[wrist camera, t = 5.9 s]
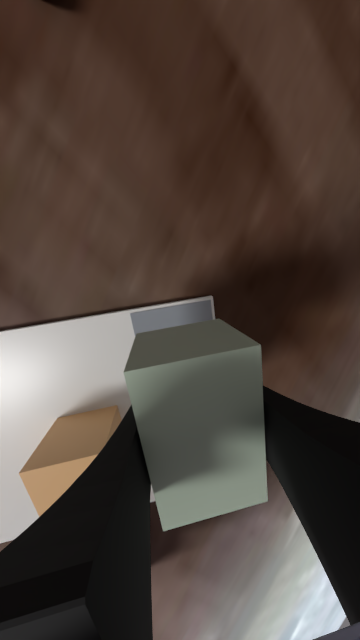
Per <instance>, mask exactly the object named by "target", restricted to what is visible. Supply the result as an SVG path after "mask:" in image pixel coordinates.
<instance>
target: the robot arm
mask: <svg viewBox="0 0 360 640" xmlns="http://www.w3.org/2000/svg"><path fill="white" fill-rule="evenodd" d="M263 404H264V428H265V451H266V459H267V461H268V462H269V464H270V466H271V467H272V469H273V471H274V472H275V474H276V476H277V478H278V480H279V482H280V483H281V485H282V487H283V489H284V491H285V493H286V495H287V496H288V498H289V500H290V502H291V504H292V506H293V508H294V510H295V512H296V514H297V516H298V518H299V520H300V521H301V523H302V525H303V527H304V529H305V531H306V533H307V535H308V537H309V539H310V541H311V543H312V545H313V547H314V549H315V551H316V553H317V555H318V557H319V560H320V562H321V564H322V566H323V568H324V570H325V572H326V574H327V576H328V578H329V580H330V582H331V584H332V587H333V589H334V591H335V593H336V595H337V597H338V599H339V601H340V603H341V605H342V607H343V610H344V612H345V614H346V616H347V618H348V620H349V622H350V625H351V626H348V627H345V628H343V629H340V630H337V631H335V632H332V633H329V634H327V635H324V636H321V637H319V638H316V639H313V640H360V423H359V422H355V421H351V420H348V419H345V418H341V417H338V416H335V415H332V414H328V413H326V412H323V411H320V410H317V409H314V408H312V407H309V406H306V405H304V404H301V403H299V402H296V401H294V400H292V399H290V398H287V397H285V396H283V395H281V394H279V393H277V392H275V391H273V390H271V389H269V388H267V387H265V386H263ZM150 493H151V481H150V477H149V473H148V469H147V465H146V461H145V457H144V453H143V449H142V445H141V441H140V437H139V433H138V429H137V425H136V420H135V416H134V412H133V408H132V404H131V406H130V407H129V409H128V411H127V413H126V414H125V416H124V418H123V419H122V421H121V422H120V424H119V426H118V427H117V429H116V430H115V432H114V433H113V435H112V436H111V437H110V439H109V440H108V442H107V443H106V445H105V446H104V447H103V449H102V450H101V451H100V453H99V454H98V455H97V456H96V458H95V459H94V460H93V461H92V463H91V464H90V465H89V466H88V467H87V468H86V470H85V471H84V472H83V473H82V474H81V475H80V476H79V477H78V478H77V479H76V480H75V482H74V483H73V484H72V485H71V486H70V487H69V488H68V489H67V490H66V491H65V492H64V493H63V494H62V495H61V496H60V497H59V498H58V499H57V500H56V501H55V502H54V503H53V504H52V505H51V506H50V507H49V508H48V509H47V510H46V511H45V512H44V513H43V514H42V515H41V516H40V517H39V518H38V519H37V520H36V521H35V522H33V523H32V524H31V525H30V526H29V527H28V528H27V529H26V530H25V531H24V532H22V533H21V534H20V535H19V536H18V537H17V538H16V539H14V540H13V541H12V542H11V543H10V544H9V545H8V546H7V547H5V548H4V549H3V550H2V551H1V552H0V640H153V634H152V600H151V556H150Z"/></svg>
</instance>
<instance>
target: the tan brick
mask: <svg viewBox="0 0 360 640" xmlns="http://www.w3.org/2000/svg"><path fill="white" fill-rule="evenodd" d="M121 421H122V420H121V417H120V413H119V409H118V406H117V405H115V406H111V407H106V408H101V409H97V410H92V411H88V412H83V413H78V414H74V415H69V416H65V417H60V418H57V419H56V421H55V422H54V424H53V425H52V426H51V428H50V429H49V431H48V432H47V434H46V435H45V436H44V438H43V439H42V441H41V442H40V444H39V445H38V446H37V448H36V449H35V451H34V452H33V454H32V455H31V456H30V458H29V459H28V461H27V462H26V464H25V465H24V466H23V468H22V469H21V471H20V472H19V475H20V477H21V479H22V481H23V483H24V486H25V488H26V490H27V492H28V494H29V496H30V498H31V500H32V502H33V505H34V507H35V509H36V511H37V513H38V515H39V517H40V516H41V515H42V514H43V513H44V512H45V511H46V510H47V509H48V508H49V507H50V506H51V505H52V504H53V503H54V502H55V501H56V500H57V499H58V498H59V497H60V496H61V495H62V494H63V493H64V492H65V491H66V490H67V489H68V488H69V487H70V486H71V485H72V484H73V483H74V482H75V480H76V479H77V478H78V477H79V476H80V475H81V474H82V473H83V472H84V471H85V470H86V468H87V467H88V466H89V465H90V464H91V463H92V461H93V460H94V459H95V458H96V456H97V455H98V454H99V453H100V451H101V450H102V449H103V447H104V446H105V445H106V443H107V442H108V440H109V439H110V437H111V436H112V435H113V433H114V432H115V430H116V429H117V427H118V426H119V424H120V422H121Z"/></svg>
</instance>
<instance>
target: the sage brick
mask: <svg viewBox="0 0 360 640" xmlns="http://www.w3.org/2000/svg"><path fill="white" fill-rule="evenodd" d="M124 376H125V380H126V384H127V388H128V392H129V396H130V400H131V404H132V408H133V412H134V416H135V420H136V425H137V429H138V433H139V437H140V441H141V445H142V449H143V453H144V457H145V461H146V465H147V469H148V473H149V477H150V481H151V485H152V489H153V493H154V497H155V501H156V505H157V509H158V513H159V517H160V521H161V525H162V529H163V531H167V530H170V529H174V528H177V527H181V526H184V525H187V524H191V523H194V522H198V521H201V520H205V519H208V518H212V517H215V516H219V515H222V514H226V513H229V512H233V511H236V510H239V509H243V508H246V507H250V506H253V505H257V504H260V503H264V502H267V501H268V497H267V474H266V451H265V428H264V404H263V381H262V358H261V344H259V343H257V342H256V341H254V340H253V339H251V338H249V337H248V336H246V335H245V334H243V333H241V332H240V331H238V330H237V329H235V328H233V327H232V326H230V325H229V324H227V323H225V322H224V321H222V320H221V319H214V320H208V321H203V322H197V323H192V324H186V325H180V326H175V327H169V328H164V329H158V330H153V331H147V332H142V333H136V336H135V339H134V342H133V345H132V348H131V351H130V354H129V357H128V360H127V363H126V366H125V369H124Z"/></svg>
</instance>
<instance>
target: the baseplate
mask: <svg viewBox="0 0 360 640" xmlns="http://www.w3.org/2000/svg"><path fill="white" fill-rule="evenodd" d="M214 319H215V312H214V302H213V296H205V297H199V298H193V299H187V300H181V301H175V302H169V303H163V304H157V305H151V306H145V307H139V308H133V309H127V310H121V311H115V312H109V313H103V314H98V315H92V316H86V317H80V318H74V319H68V320H62V321H56V322H50V323H44V324H38V325H32V326H26V327H20V328H14V329H8V330H2V331H0V543H3V542H7V541H10V540H14V539H16V538H17V537H18V536H19V535H20V534H21V533H22V532H24V531H25V530H26V529H27V528H28V527H29V526H30V525H31V524H32V523H33V522H35V521H36V520H37V519H38V518H39V515H38V513H37V511H36V509H35V507H34V505H33V502H32V500H31V498H30V496H29V494H28V492H27V490H26V488H25V486H24V483H23V481H22V479H21V477H20V475H19V472H20V471H21V469H22V468H23V466H24V465H25V464H26V462H27V461H28V459H29V458H30V456H31V455H32V454H33V452H34V451H35V449H36V448H37V446H38V445H39V444H40V442H41V441H42V439H43V438H44V436H45V435H46V434H47V432H48V431H49V429H50V428H51V426H52V425H53V424H54V422H55V421H56V419H57V418H60V417H65V416H69V415H74V414H78V413H83V412H88V411H92V410H97V409H101V408H106V407H111V406H115V405H117V406H118V409H119V413H120V417H121V420H122V419H123V418H124V416H125V414H126V413H127V411H128V409H129V407H130V406H131V400H130V396H129V392H128V388H127V384H126V380H125V376H124V369H125V366H126V363H127V360H128V357H129V354H130V351H131V348H132V345H133V342H134V339H135V336H136V333H142V332H147V331H153V330H158V329H164V328H169V327H175V326H180V325H186V324H192V323H197V322H203V321H208V320H214ZM154 501H155V497H154V493H153V489H152V485H151V493H150V502H154Z"/></svg>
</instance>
